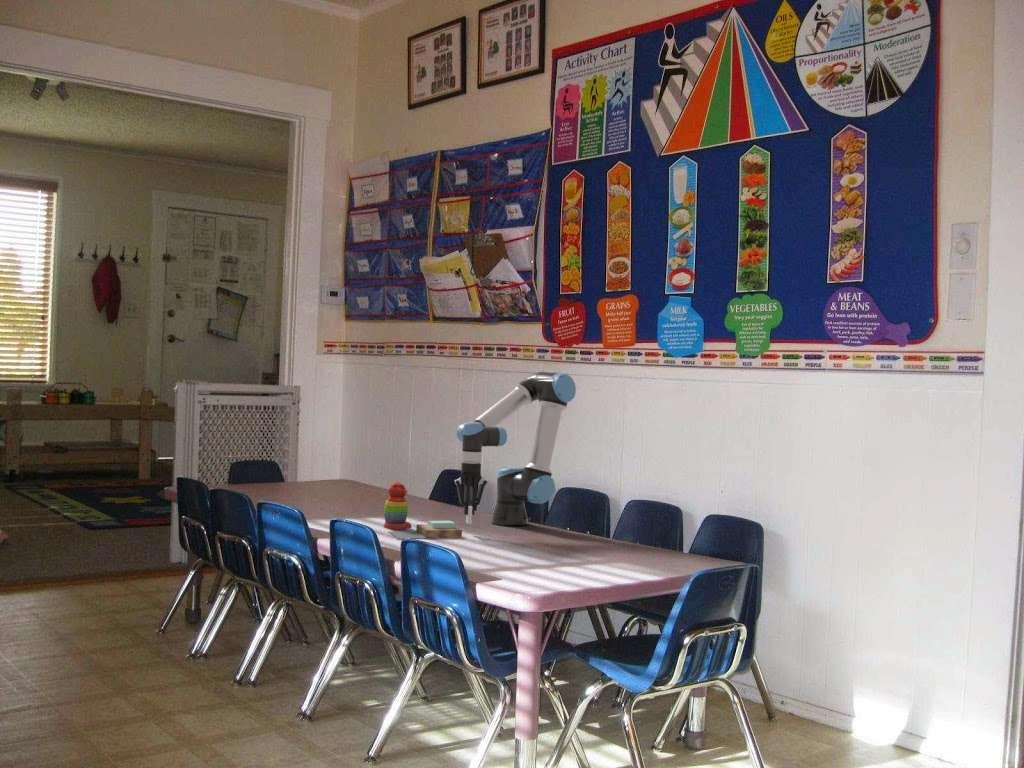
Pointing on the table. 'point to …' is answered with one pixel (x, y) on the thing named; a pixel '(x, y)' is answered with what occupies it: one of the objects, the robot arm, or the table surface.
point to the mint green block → (441, 524)
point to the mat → (406, 534)
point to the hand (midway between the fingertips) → (468, 523)
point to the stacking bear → (396, 508)
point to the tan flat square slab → (438, 532)
